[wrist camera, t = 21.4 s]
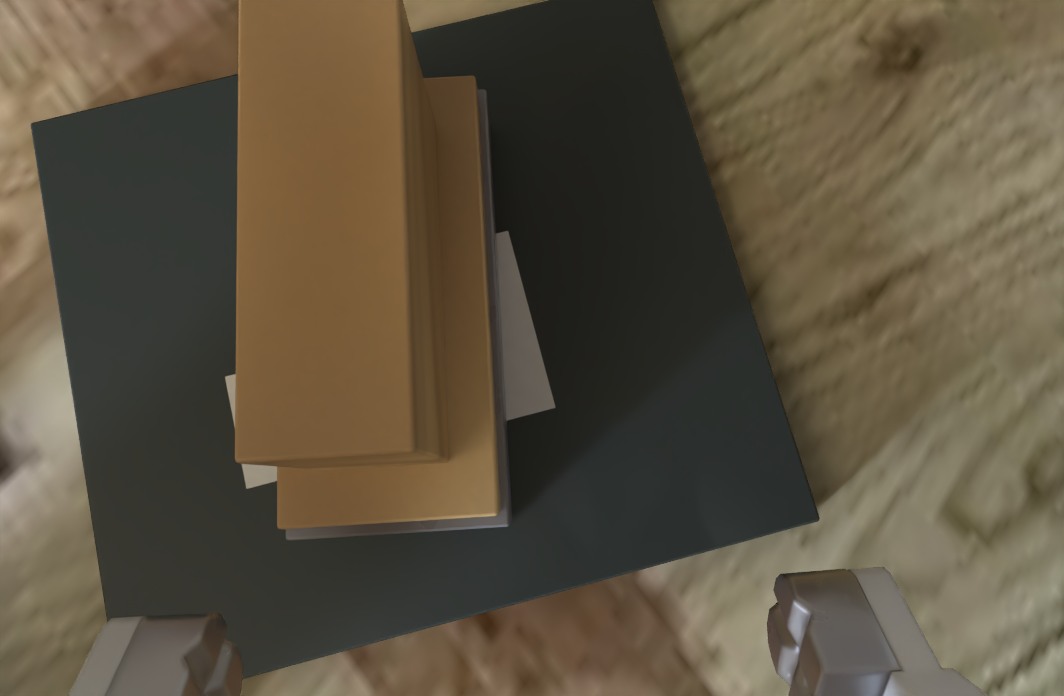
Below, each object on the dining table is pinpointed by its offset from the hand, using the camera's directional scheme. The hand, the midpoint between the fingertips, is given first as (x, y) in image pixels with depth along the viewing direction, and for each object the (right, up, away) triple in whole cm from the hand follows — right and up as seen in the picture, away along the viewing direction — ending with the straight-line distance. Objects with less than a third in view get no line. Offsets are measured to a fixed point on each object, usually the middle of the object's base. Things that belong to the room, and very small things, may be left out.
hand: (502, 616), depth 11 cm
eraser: (-3, +5, +9) cm, 11 cm away
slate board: (-3, +5, +10) cm, 11 cm away
